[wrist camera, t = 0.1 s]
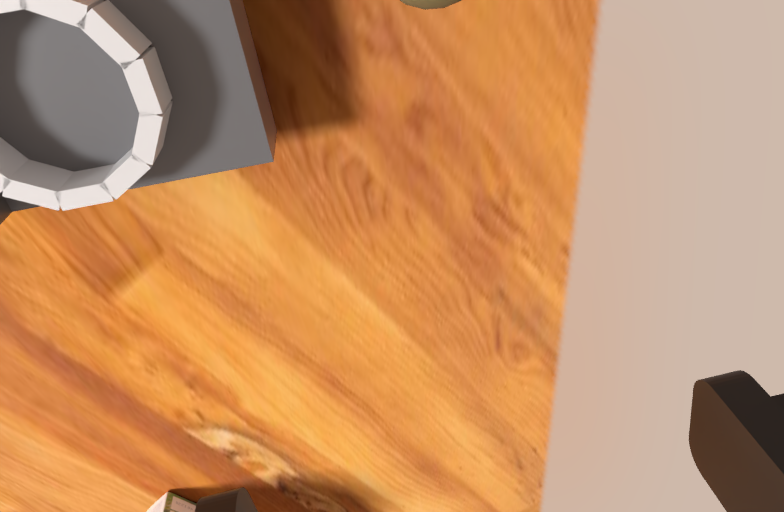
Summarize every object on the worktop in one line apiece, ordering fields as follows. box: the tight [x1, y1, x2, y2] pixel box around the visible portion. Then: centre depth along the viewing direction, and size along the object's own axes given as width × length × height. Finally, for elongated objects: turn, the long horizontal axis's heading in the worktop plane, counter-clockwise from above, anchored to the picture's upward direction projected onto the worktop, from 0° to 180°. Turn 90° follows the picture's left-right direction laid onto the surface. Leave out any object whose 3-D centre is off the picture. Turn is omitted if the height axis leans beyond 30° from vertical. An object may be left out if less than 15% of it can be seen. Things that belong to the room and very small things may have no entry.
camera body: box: [0, 0, 277, 224], centre depth 30 cm, size 11×18×8 cm, turn 99°
